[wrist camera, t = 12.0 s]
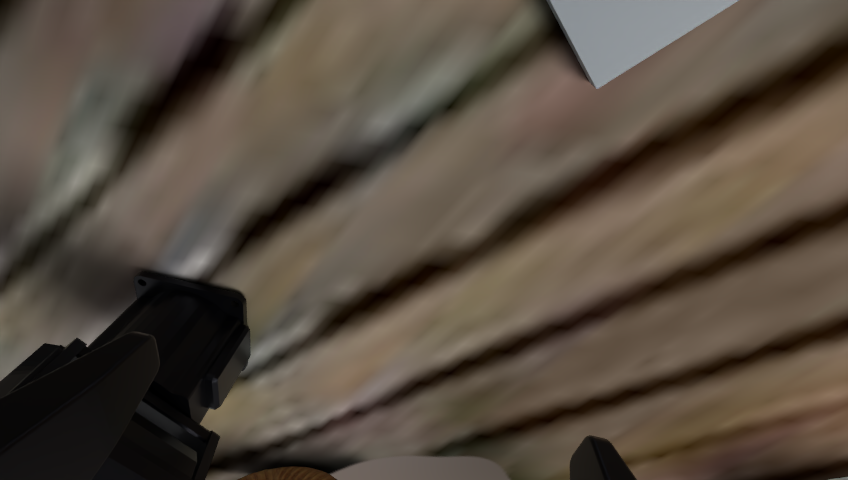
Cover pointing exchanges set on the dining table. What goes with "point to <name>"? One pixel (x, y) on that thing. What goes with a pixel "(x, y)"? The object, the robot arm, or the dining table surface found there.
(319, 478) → the wooden carving
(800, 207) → the dining table surface
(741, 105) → the dining table surface
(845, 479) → the french press
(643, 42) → the peg board
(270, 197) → the dining table surface
